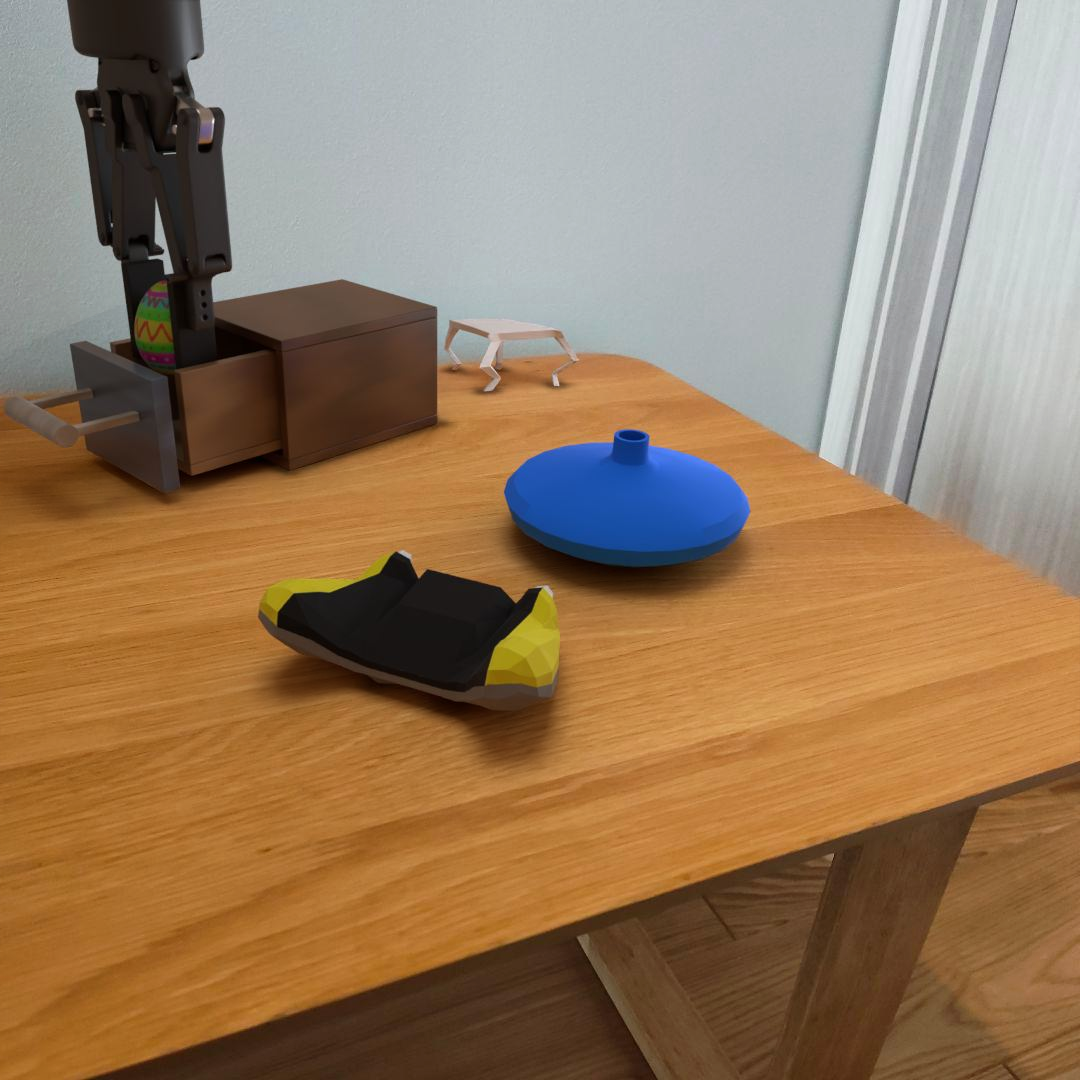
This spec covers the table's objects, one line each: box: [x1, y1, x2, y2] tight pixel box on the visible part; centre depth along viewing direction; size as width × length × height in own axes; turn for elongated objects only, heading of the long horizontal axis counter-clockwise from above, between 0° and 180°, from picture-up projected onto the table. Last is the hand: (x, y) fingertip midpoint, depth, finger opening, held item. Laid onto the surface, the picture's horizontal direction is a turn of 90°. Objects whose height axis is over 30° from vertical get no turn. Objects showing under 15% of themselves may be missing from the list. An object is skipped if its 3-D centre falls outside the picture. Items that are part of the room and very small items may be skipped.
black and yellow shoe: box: [257, 549, 561, 712], centre depth 53 cm, size 15×6×10 cm
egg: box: [134, 280, 176, 374], centre depth 72 cm, size 5×5×6 cm
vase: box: [503, 428, 751, 568], centre depth 68 cm, size 16×16×7 cm
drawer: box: [3, 327, 282, 494], centre depth 74 cm, size 19×10×8 cm, turn 138°
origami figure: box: [443, 317, 580, 392], centre depth 96 cm, size 12×8×5 cm
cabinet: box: [213, 278, 438, 471], centre depth 83 cm, size 15×12×10 cm
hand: (175, 363), depth 73 cm, fingers closed on egg, 5 cm apart
